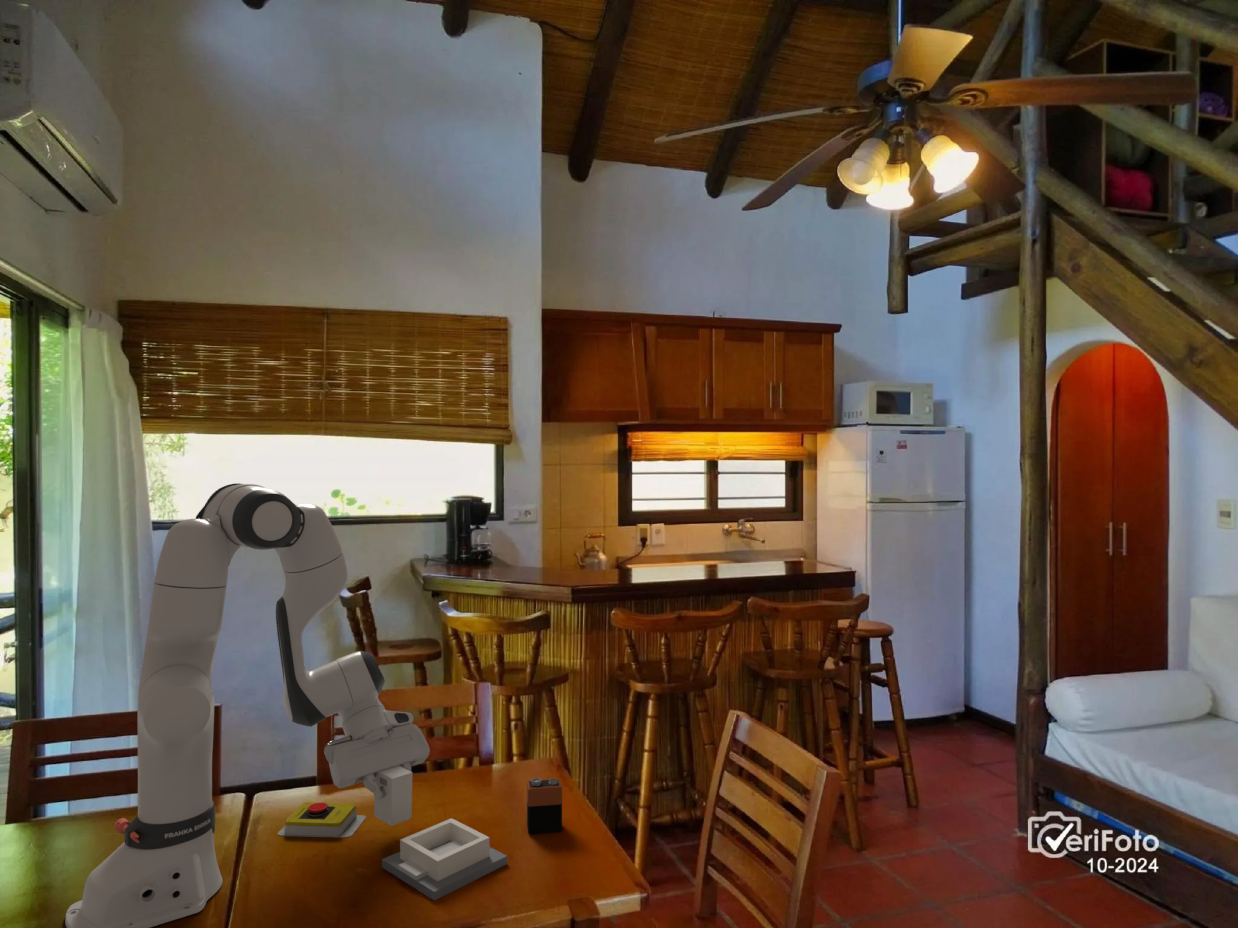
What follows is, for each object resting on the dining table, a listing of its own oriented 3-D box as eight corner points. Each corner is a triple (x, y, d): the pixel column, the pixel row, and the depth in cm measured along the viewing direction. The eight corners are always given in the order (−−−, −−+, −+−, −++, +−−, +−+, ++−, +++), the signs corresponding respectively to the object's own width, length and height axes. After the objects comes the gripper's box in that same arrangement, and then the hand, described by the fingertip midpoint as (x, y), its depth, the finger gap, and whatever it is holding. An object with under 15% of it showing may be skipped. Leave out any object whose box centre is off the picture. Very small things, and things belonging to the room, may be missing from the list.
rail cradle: (434, 900, 132) (434, 870, 132) (381, 867, 143) (382, 839, 143) (507, 863, 144) (507, 836, 144) (453, 835, 155) (454, 810, 155)
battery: (526, 824, 160) (526, 775, 159) (559, 822, 161) (560, 773, 161) (528, 835, 155) (528, 784, 155) (562, 832, 157) (562, 782, 156)
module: (390, 825, 150) (392, 778, 150) (373, 816, 154) (374, 770, 154) (411, 818, 153) (412, 771, 154) (394, 808, 157) (395, 763, 157)
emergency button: (297, 795, 164) (367, 797, 163) (297, 816, 164) (367, 818, 163) (275, 815, 155) (350, 817, 154) (275, 837, 155) (350, 840, 154)
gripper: (327, 734, 151) (352, 800, 144) (417, 711, 166) (444, 770, 159) (315, 751, 153) (339, 817, 147) (405, 727, 169) (431, 786, 162)
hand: (395, 792), depth 153 cm, fingers closed on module, 4 cm apart
